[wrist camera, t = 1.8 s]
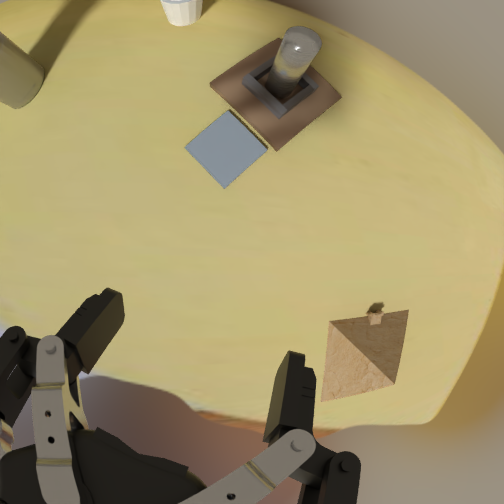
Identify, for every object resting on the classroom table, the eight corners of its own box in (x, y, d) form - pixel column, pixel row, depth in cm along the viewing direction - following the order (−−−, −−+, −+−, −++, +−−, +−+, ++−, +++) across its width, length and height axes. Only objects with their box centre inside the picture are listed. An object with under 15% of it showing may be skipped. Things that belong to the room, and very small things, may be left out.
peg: (259, 85, 35) (277, 35, 22) (278, 71, 35) (302, 21, 22) (278, 103, 35) (304, 58, 23) (297, 89, 35) (328, 44, 23)
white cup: (166, 5, 32) (161, -19, 25) (205, 2, 33) (205, -23, 26) (162, 30, 33) (155, 6, 26) (203, 27, 33) (202, 1, 27)
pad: (185, 148, 36) (184, 147, 35) (227, 111, 36) (228, 110, 35) (224, 188, 37) (224, 188, 37) (266, 150, 37) (267, 149, 37)
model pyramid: (409, 303, 44) (444, 320, 34) (394, 384, 46) (420, 409, 36) (326, 314, 42) (354, 339, 32) (317, 401, 44) (337, 436, 34)
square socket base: (209, 86, 35) (209, 75, 32) (277, 41, 35) (281, 30, 32) (276, 151, 38) (282, 145, 34) (339, 99, 38) (347, 92, 34)
